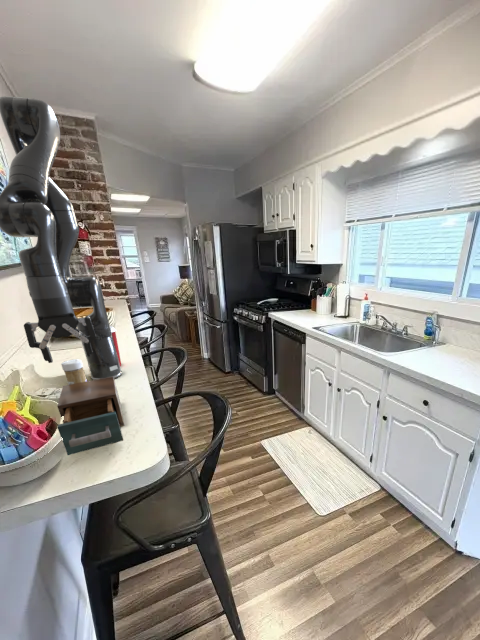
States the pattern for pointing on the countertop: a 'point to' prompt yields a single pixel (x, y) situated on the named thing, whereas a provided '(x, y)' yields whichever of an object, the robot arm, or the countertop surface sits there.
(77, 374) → the sprinkles bottle
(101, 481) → the countertop surface
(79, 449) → the drawer
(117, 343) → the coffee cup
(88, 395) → the cabinet
